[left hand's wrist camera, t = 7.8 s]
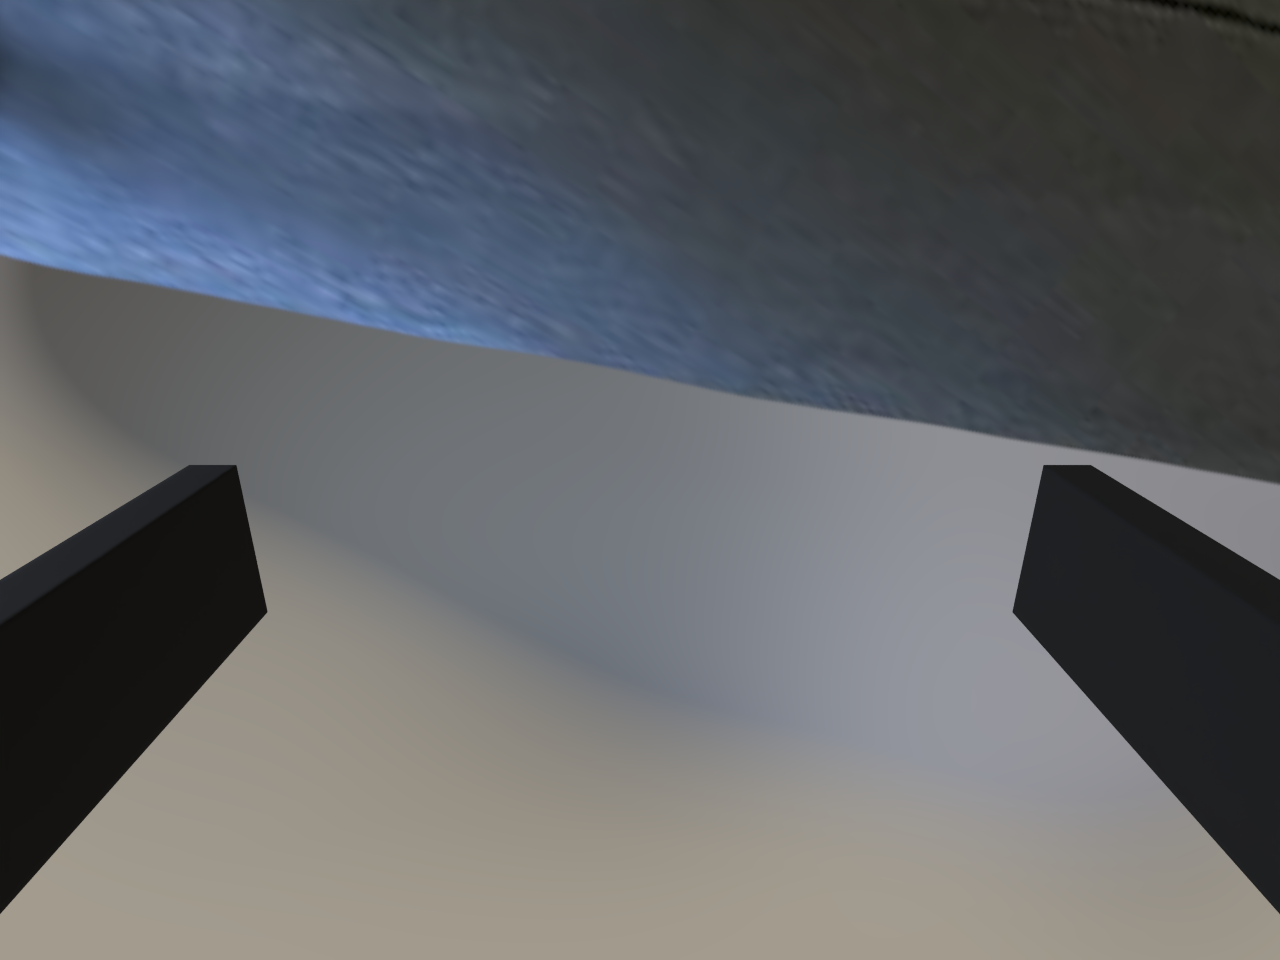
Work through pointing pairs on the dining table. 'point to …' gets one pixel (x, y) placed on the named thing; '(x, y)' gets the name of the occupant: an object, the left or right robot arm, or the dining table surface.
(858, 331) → the dining table surface
